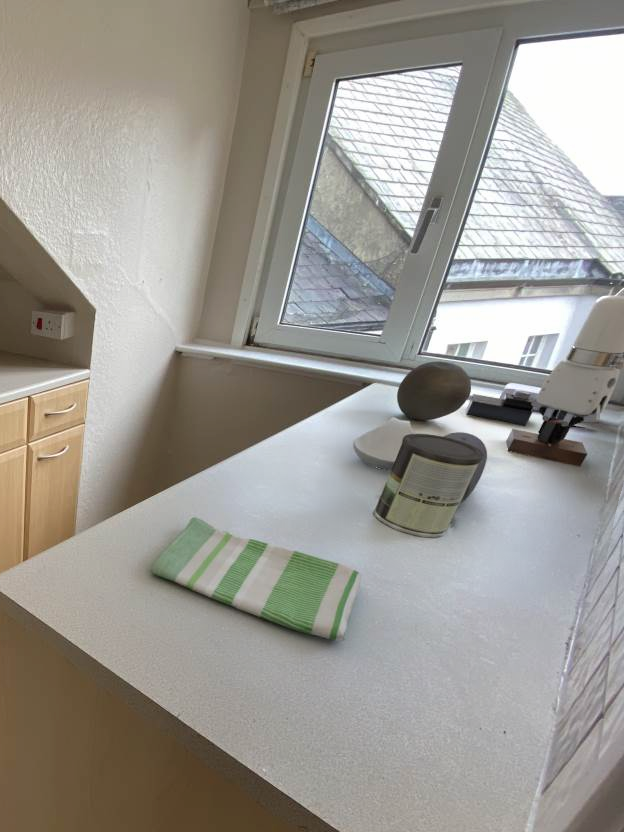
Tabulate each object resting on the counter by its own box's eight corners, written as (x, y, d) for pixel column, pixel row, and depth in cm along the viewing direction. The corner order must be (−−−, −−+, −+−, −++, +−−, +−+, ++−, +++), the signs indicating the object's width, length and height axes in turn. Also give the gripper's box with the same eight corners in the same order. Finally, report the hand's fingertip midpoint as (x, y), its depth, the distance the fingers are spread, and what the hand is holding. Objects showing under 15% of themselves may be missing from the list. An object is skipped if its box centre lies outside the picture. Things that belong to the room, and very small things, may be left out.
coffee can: (358, 508, 96) (388, 434, 90) (408, 505, 98) (440, 432, 92) (408, 540, 87) (445, 459, 81) (462, 536, 89) (502, 457, 83)
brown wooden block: (575, 454, 124) (582, 441, 122) (580, 466, 117) (588, 453, 116) (506, 440, 130) (512, 428, 129) (507, 451, 124) (514, 438, 123)
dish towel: (191, 525, 89) (195, 511, 87) (358, 584, 76) (365, 567, 75) (147, 575, 76) (151, 559, 75) (339, 655, 63) (347, 637, 62)
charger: (543, 401, 162) (539, 411, 152) (502, 393, 167) (497, 403, 158) (551, 385, 160) (548, 395, 150) (509, 378, 165) (504, 387, 156)
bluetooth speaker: (419, 469, 113) (439, 423, 108) (476, 484, 107) (499, 437, 103) (393, 503, 98) (415, 453, 94) (458, 524, 93) (484, 470, 88)
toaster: (523, 418, 146) (534, 396, 144) (525, 426, 140) (536, 404, 137) (466, 407, 153) (476, 386, 150) (466, 415, 147) (475, 393, 144)
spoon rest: (411, 483, 107) (426, 449, 103) (343, 465, 113) (354, 433, 110) (421, 449, 123) (434, 419, 120) (361, 435, 130) (372, 406, 126)
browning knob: (550, 438, 124) (561, 418, 122) (558, 441, 122) (569, 421, 120) (537, 439, 123) (547, 420, 120) (545, 442, 121) (556, 422, 119)
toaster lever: (526, 399, 142) (530, 391, 142) (526, 401, 140) (530, 394, 140) (512, 396, 144) (515, 389, 143) (512, 399, 142) (516, 391, 141)
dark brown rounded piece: (385, 419, 141) (407, 362, 134) (392, 407, 151) (413, 353, 144) (453, 434, 133) (480, 373, 126) (456, 420, 142) (481, 363, 136)
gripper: (653, 367, 109) (603, 452, 117) (559, 349, 122) (520, 426, 130) (630, 368, 106) (580, 455, 115) (537, 350, 120) (498, 428, 128)
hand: (548, 439), depth 122 cm, fingers closed
